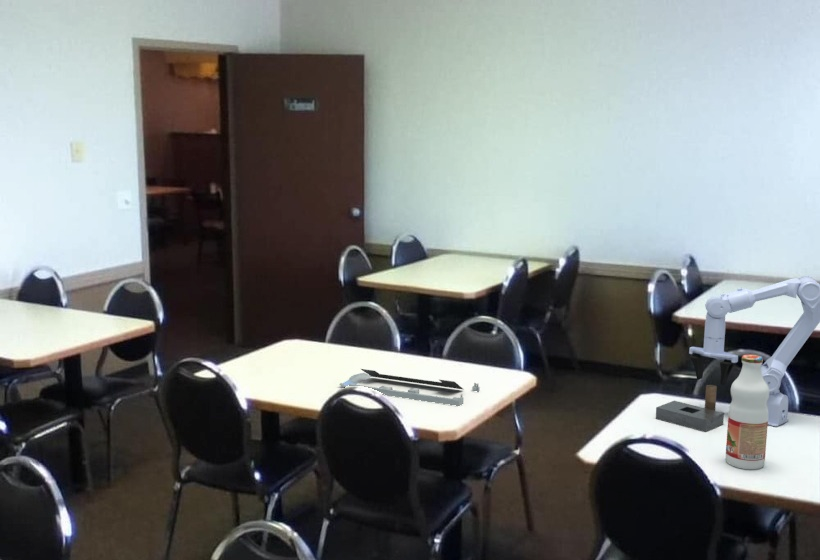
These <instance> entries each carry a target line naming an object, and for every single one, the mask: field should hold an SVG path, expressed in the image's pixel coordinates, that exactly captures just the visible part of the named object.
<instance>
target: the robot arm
mask: <svg viewBox="0 0 820 560" xmlns="http://www.w3.org/2000/svg"><path fill="white" fill-rule="evenodd" d="M782 296H787V297H790V298H794V299H797V297H798V298H799V300H800V303H801V307H802V311H803V313H802V314H801V316H800V317H799V318H798V320H797V321H796V322H795V324H794V325H793V327H792V328H791V329H790V331H789V332H788V333H787V335H786V336H785V338H784V339H783V340H782V342H781V343H780V344H779V346H778V347H777V349H776V350H775V351H774V352H773V354H772V356H770V357H768V358H767V359H766V360H765V362H764V363H762V365H761V372H762V376H763V379H764V381H765V382H766V384H767V385H768V387H769V398H768V400H767V408H768V426H772V427H778V426H781V425H782V424H783V425H784V424H785V423H787V422H789V419H788V414H789V397H788V395H786V394H783V393H782V392H780V387H781V385H782V384H781V383H782V379H783V377H784V376H785V374H786V370H787V368H788V366H789V365H790V364H791V362H792V361H793V359H794V358H795V357H796V355H797V354H798V352H799V351H800V350H801V349H802V348H803V346H804V344H805V343H806V341H808V339H809V337H810V336H811V335H812V333H813V332H814V331H815V329H816V328H817V326H818V325H819V324H820V283H819V282H817V281H816V280H815V278H813V277H812V276H809V275H808V276H807V275H804V276H800V277H799V278H798V277H794V278H790V279H789V278H788V279H786V280H784V281H780V282H777V283H774V284H770V285H767V286H763V287H761V288H757V289H754V290H750V289H748V288H747V287H746V288H742V287H737V288H736V290H735V291H731V292H728V293H724V292H722V293H720V296H719V295H712V296H710V297H709V298H708V299H707V300H706V302H705V305H704V306H705V309H706V315H705V321H704V334H703V336H704V337H703V347H698V346H691V347H689V349H688V350H689V351H688V354H690V355H689V356H690V357H689V359H690V360H691V363H692V365H693V367H694V372H695V376H696V379H697V380H703V375H704V366H705V362H706V358H711V359H712V358H713V359H717V360H722V361H720V362H719V367H720V385H721V386H724V385H725V386H726V385H727V381H728V378H729V375H730V374H731V372H732V369H733V368H734V367H735V365H737V363H738V362H739V355H737V354H734V353H731V352H727V351H725V339H726V338H725V337H726V336H725V335H726V315H727V314H728V313H730V314H733V313H735V312H739V311H742V310H746V309H749V308H753V307H754V305H755V303H756V302H759V301H763V300H764V301H765V300H768V299H772V298H777V297H782Z"/></svg>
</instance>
